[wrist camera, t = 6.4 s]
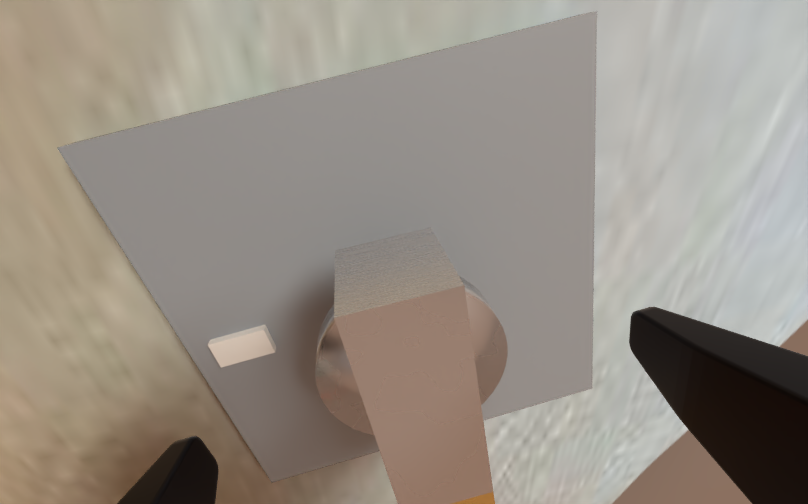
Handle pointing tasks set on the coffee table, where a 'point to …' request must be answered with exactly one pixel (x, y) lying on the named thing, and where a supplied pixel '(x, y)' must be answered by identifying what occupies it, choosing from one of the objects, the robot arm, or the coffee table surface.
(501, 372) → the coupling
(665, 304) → the coffee table surface
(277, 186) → the base plate
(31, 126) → the coffee table surface
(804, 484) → the robot arm
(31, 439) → the coffee table surface
